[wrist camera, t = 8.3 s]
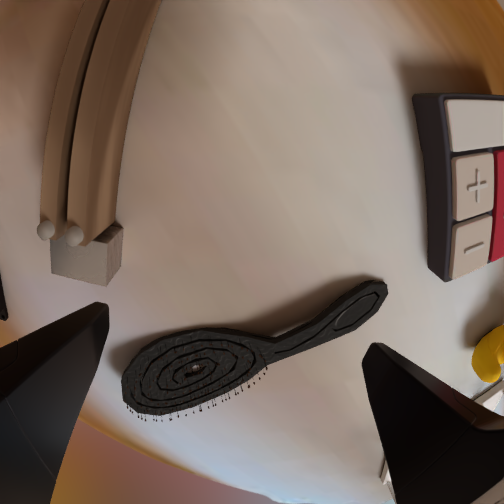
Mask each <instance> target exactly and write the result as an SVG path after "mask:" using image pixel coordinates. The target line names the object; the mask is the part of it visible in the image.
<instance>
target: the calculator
mask: <svg viewBox="0 0 504 504" xmlns="http://www.w3.org/2000/svg"><path fill="white" fill-rule="evenodd" d="M412 101H413V106H414V111H415V116H416V121H417V127H418V133H419V139H420V145H421V149H422V151H423V154H424V164H425V177H426V194H427V222H428V268H429V269H430V270H431V271H432V272H433V273H434V274H436V275H437V276H438V277H439V278H440V279H441V280H442V281H444V282H448V281H451V280H454V279H457V278H459V277H461V276H463V275H466V274H468V273H470V272H472V271H474V270H477V269H479V268H481V267H483V266H485V265H486V264H488V263H490V262H493V261H495V260H497V259H499V258H501V257H503V256H504V96H503V95H490V94H471V93H423V94H414V95H413V97H412Z"/></svg>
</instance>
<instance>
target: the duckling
mask: <svg viewBox="0 0 504 504" xmlns="http://www.w3.org/2000/svg"><path fill="white" fill-rule="evenodd" d="M502 363H504V325H501V326H499V327H497V328H495V329H493V330H492V331H491V332H490V333H488V334H487V335H485V336H484V337H483V338H482V339H481V340H480V342H479V343H478V344H477V346H476V348H475V350H474V352H473V356H472V367H473V369H474V371H475V372H476V374H477V375H478V376H479V378H480V379H481V380H482V381H484V382H488V383H493V382H495V381H497V380H498V379H499V377H500V374H501V367H500V364H502Z"/></svg>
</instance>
